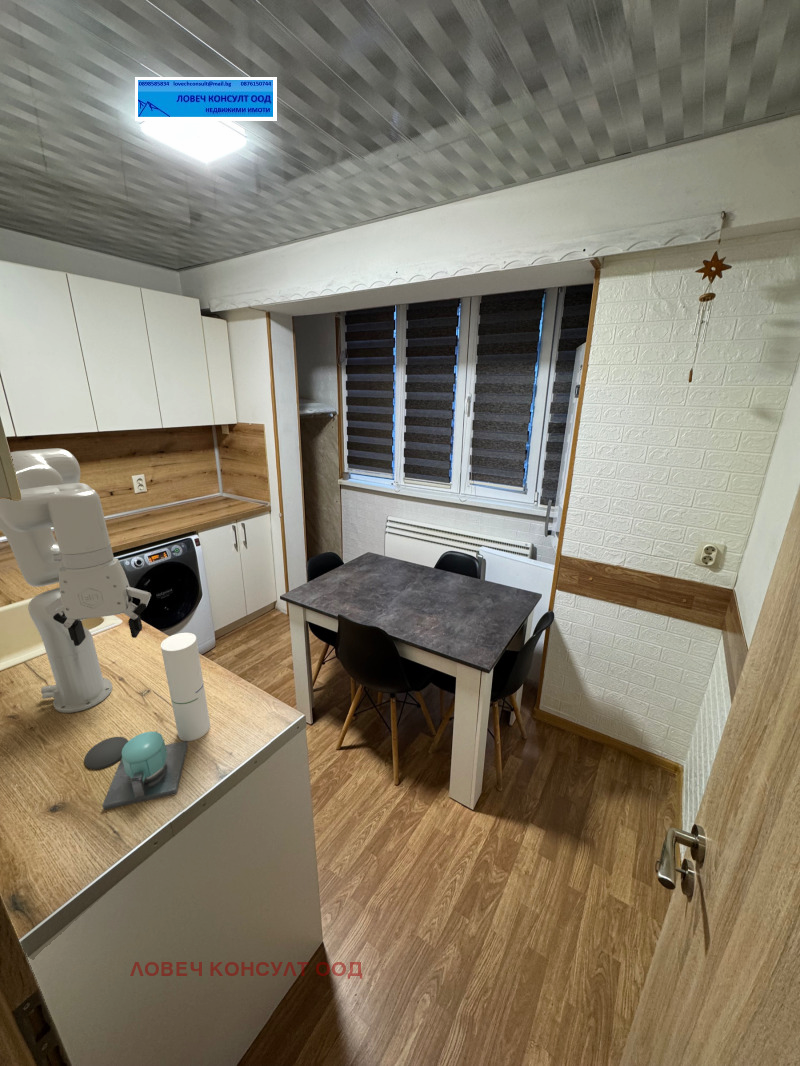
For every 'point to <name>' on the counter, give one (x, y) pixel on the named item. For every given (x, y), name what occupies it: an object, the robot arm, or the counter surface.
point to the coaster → (105, 753)
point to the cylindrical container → (186, 685)
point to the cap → (144, 754)
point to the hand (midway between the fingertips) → (109, 638)
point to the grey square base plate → (147, 780)
